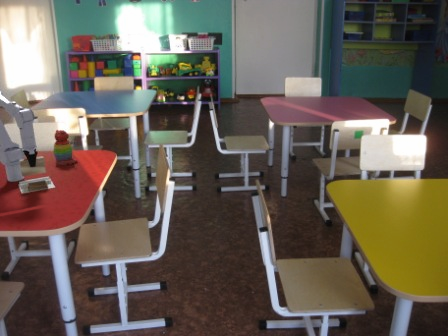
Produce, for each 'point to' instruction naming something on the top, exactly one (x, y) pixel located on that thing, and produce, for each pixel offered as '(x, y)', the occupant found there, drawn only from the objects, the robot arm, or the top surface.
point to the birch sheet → (29, 170)
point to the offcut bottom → (37, 188)
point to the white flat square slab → (24, 184)
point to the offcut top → (37, 184)
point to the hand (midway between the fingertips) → (32, 165)
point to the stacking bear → (63, 149)
